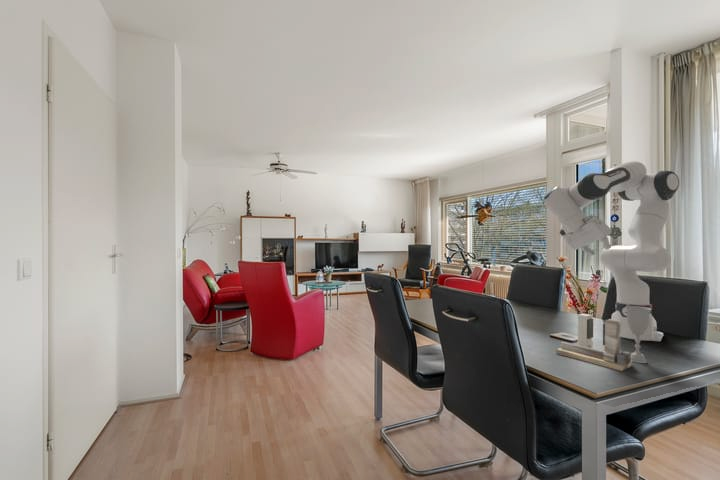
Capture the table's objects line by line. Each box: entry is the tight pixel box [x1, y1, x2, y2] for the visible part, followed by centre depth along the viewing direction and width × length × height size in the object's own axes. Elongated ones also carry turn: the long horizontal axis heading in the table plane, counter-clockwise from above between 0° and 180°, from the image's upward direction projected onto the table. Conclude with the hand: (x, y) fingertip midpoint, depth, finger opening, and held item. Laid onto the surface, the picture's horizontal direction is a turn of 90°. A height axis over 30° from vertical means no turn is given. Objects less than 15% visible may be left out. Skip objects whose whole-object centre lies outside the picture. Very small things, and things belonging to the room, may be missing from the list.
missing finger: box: [576, 313, 594, 349], centre depth 131 cm, size 6×4×13 cm, turn 124°
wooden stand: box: [555, 318, 633, 372], centre depth 119 cm, size 8×20×14 cm, turn 34°
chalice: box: [625, 306, 652, 364], centre depth 119 cm, size 7×7×18 cm
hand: (600, 251), depth 134 cm, fingers open, 8 cm apart
